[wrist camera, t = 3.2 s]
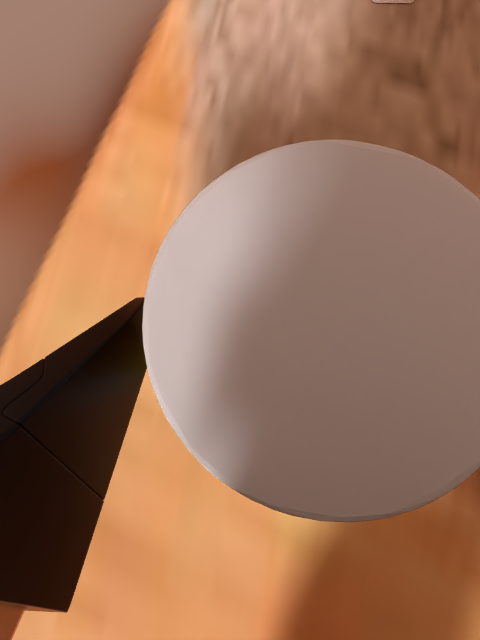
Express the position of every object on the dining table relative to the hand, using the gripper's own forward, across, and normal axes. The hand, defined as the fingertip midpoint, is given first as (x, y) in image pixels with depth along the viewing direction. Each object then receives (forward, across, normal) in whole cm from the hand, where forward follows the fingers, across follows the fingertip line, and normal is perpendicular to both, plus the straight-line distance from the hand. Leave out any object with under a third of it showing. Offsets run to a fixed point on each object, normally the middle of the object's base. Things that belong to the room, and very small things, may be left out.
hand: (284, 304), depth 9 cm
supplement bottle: (+4, 0, +6) cm, 7 cm away
